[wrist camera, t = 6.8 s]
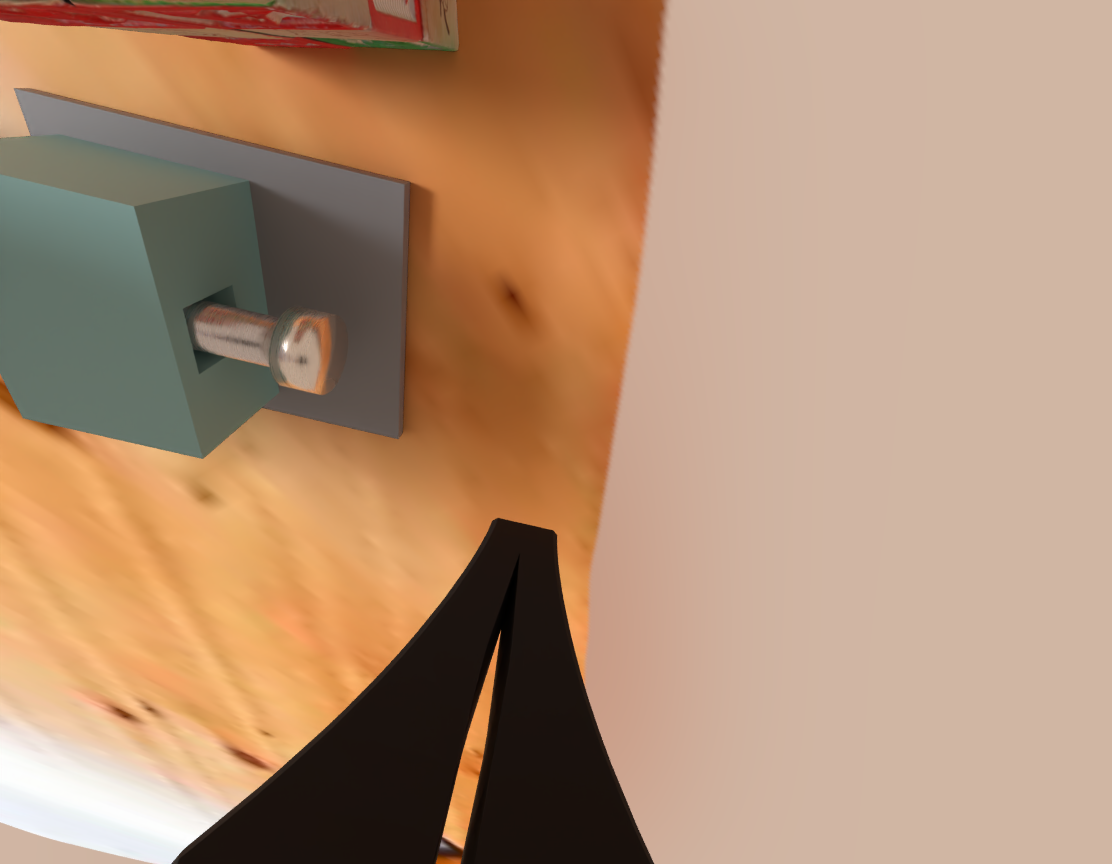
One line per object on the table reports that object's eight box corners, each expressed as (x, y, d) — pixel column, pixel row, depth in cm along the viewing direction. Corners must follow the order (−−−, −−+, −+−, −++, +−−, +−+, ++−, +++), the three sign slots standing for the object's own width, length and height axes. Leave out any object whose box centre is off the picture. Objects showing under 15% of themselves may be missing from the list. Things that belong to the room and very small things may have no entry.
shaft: (49, 301, 17) (-31, 330, 15) (18, 225, 16) (-76, 245, 14) (349, 371, 18) (312, 409, 15) (346, 303, 16) (304, 334, 14)
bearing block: (126, 368, 21) (5, 435, 17) (30, 88, 15) (-189, 85, 11) (402, 432, 21) (351, 512, 17) (410, 182, 16) (335, 212, 11)
